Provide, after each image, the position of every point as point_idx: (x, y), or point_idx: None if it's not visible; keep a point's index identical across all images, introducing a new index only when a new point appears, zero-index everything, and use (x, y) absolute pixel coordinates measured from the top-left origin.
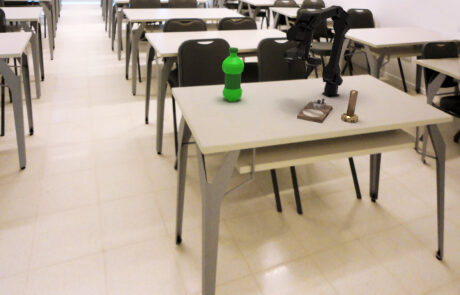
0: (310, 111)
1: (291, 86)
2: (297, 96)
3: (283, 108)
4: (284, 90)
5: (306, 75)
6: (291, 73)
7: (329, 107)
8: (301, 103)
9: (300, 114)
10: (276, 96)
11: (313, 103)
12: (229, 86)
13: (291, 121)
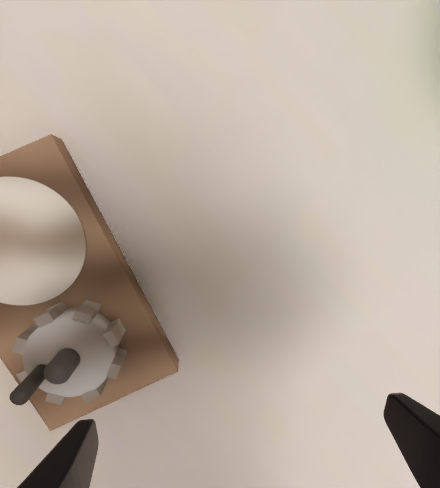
0: (44, 247)
1: None
2: (305, 396)
3: (224, 195)
4: None
5: (23, 484)
6: (394, 424)
7: (38, 396)
8: (218, 338)
9: (45, 158)
10: (378, 304)
11: (84, 328)
12: None
13: (39, 66)
